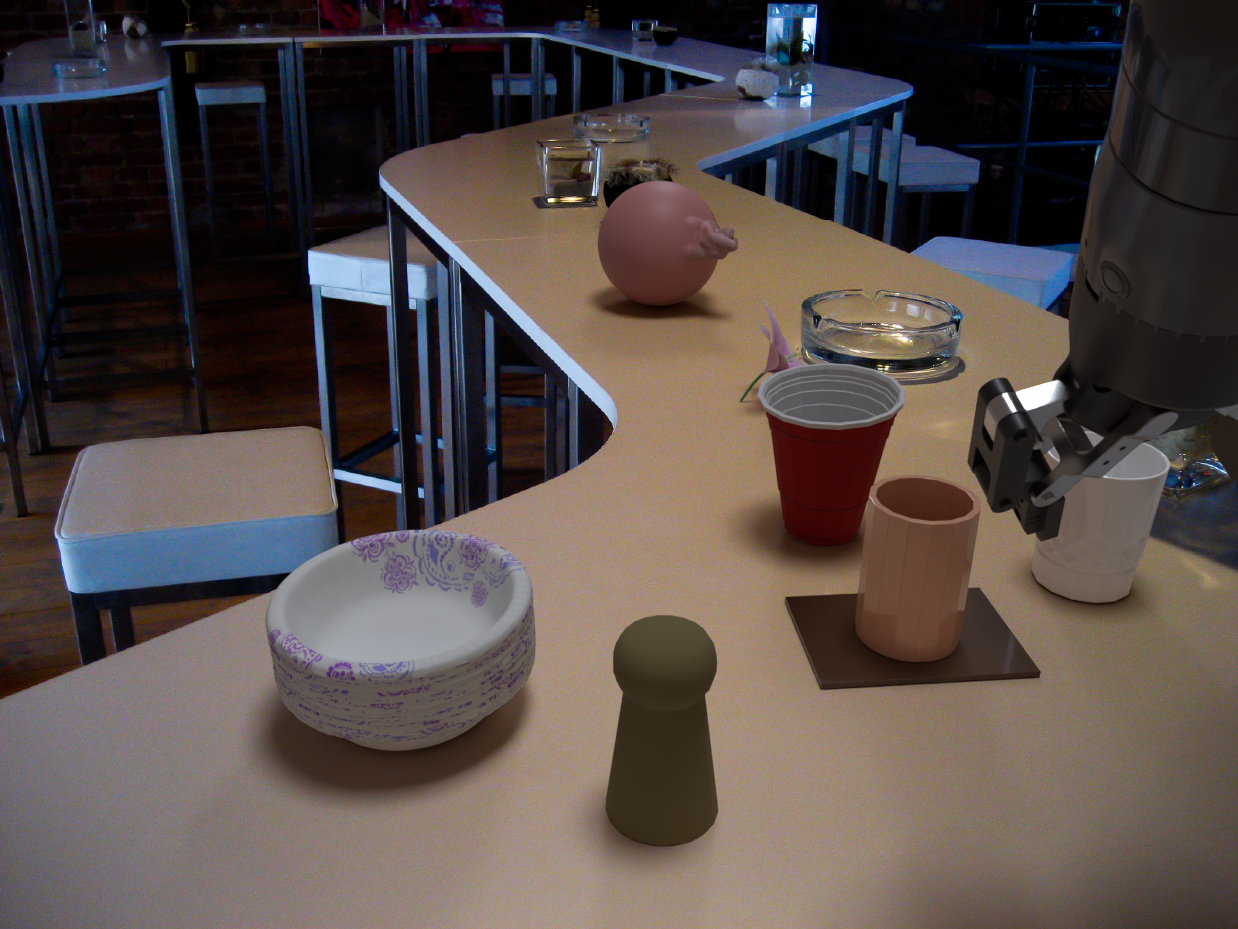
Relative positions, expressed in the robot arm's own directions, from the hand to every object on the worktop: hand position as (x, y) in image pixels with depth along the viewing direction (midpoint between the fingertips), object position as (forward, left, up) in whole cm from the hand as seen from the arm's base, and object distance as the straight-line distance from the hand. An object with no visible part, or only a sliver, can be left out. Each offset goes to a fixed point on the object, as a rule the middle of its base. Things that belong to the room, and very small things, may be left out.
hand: (1132, 492), depth 48 cm
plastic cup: (+4, -33, -20) cm, 39 cm away
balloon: (+8, -92, -20) cm, 94 cm away
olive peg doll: (+20, -4, -20) cm, 28 cm away
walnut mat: (+2, -18, -20) cm, 27 cm away
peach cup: (+2, -18, -19) cm, 26 cm away
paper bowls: (+34, -14, -20) cm, 42 cm away
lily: (+1, -59, -20) cm, 62 cm away
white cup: (-13, -24, -20) cm, 34 cm away
